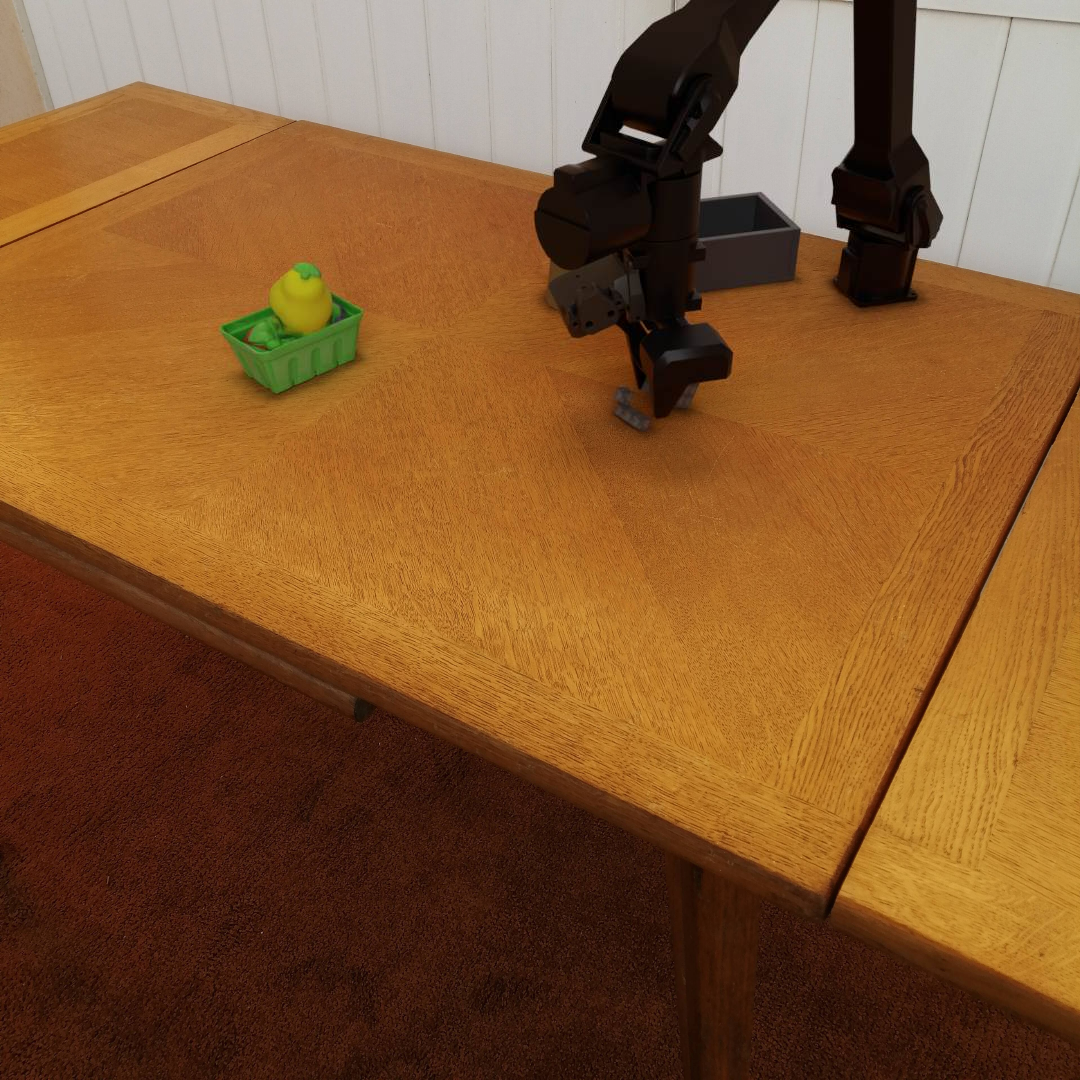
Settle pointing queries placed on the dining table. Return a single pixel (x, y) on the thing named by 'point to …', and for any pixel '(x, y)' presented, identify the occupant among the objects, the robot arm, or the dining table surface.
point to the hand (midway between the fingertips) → (652, 402)
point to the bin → (745, 242)
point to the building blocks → (637, 417)
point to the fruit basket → (295, 331)
